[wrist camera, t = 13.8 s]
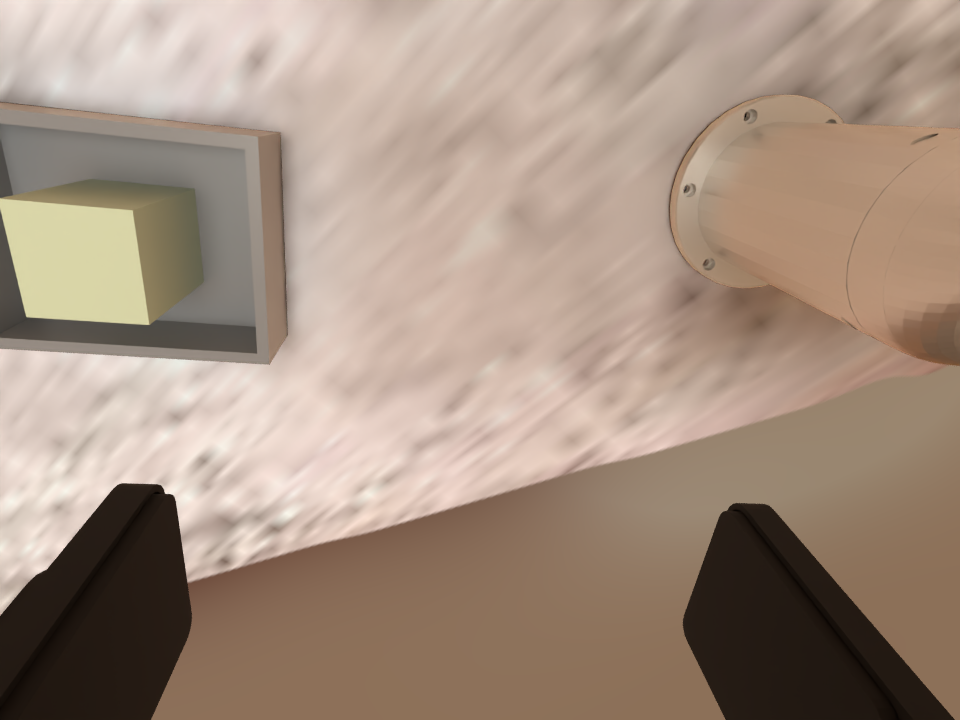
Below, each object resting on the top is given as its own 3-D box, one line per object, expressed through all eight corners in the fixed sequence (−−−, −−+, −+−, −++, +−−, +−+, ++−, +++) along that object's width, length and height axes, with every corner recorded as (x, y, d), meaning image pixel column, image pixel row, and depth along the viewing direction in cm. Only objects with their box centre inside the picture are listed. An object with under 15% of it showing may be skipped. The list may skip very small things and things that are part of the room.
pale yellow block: (194, 188, 34) (132, 210, 27) (204, 282, 37) (149, 325, 29) (90, 178, 34) (-3, 198, 26) (107, 274, 36) (26, 317, 29)
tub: (280, 132, 34) (257, 136, 29) (287, 334, 39) (269, 364, 35) (-14, 100, 32) (-87, 99, 27) (36, 318, 37) (-18, 347, 33)
